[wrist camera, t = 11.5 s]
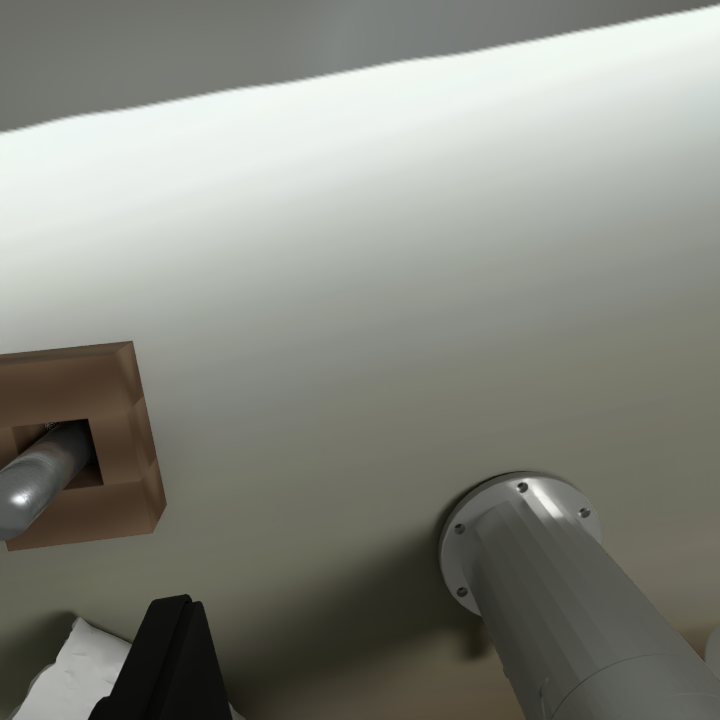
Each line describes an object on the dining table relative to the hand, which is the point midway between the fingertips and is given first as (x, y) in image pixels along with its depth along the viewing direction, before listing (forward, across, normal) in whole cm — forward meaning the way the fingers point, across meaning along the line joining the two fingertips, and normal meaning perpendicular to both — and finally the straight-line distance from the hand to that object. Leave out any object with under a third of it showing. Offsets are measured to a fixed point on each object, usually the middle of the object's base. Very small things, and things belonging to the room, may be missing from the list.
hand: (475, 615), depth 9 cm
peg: (+27, +19, +4) cm, 33 cm away
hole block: (+27, +20, +4) cm, 34 cm away
